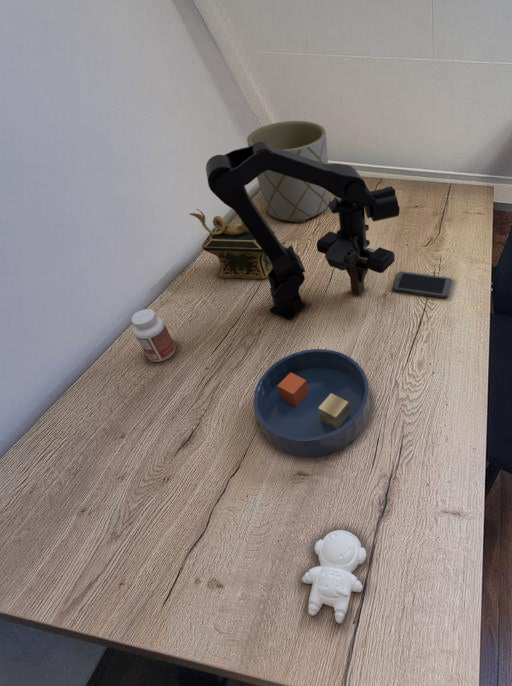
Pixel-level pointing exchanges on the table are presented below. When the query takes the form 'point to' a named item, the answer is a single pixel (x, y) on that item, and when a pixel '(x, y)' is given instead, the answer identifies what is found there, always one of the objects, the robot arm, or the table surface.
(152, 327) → the pill bottle
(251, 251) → the decorative box
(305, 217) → the planter
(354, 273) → the dark brown wooden bar
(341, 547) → the astronaut figurine
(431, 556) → the table surface
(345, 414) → the maple block
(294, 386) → the terracotta block
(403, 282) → the cell phone
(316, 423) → the bowl
